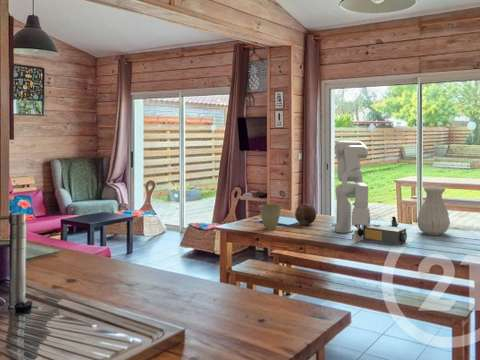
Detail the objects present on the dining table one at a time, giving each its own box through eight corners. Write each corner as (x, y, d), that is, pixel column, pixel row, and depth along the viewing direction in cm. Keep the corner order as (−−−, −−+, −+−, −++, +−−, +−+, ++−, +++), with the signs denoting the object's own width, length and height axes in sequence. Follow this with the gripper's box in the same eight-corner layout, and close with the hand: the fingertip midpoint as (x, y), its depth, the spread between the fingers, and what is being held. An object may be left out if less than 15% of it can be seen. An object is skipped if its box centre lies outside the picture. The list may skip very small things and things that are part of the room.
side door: (360, 238, 301) (360, 226, 300) (362, 238, 300) (363, 227, 299) (351, 243, 289) (352, 230, 288) (354, 243, 288) (355, 231, 287)
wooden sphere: (317, 223, 353) (317, 202, 352) (314, 227, 339) (314, 205, 337) (296, 222, 357) (296, 202, 356) (293, 226, 343) (293, 205, 341)
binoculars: (381, 217, 323) (397, 216, 321) (382, 232, 324) (398, 231, 322) (382, 219, 314) (398, 218, 312) (383, 235, 315) (400, 234, 313)
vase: (432, 238, 304) (433, 190, 301) (409, 231, 322) (411, 186, 319) (456, 235, 311) (458, 188, 308) (433, 229, 330) (435, 185, 327)
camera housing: (362, 239, 300) (363, 225, 299) (372, 236, 309) (372, 222, 308) (400, 245, 284) (400, 230, 283) (409, 242, 292) (409, 227, 291)
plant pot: (264, 226, 343) (264, 203, 342) (284, 228, 336) (284, 205, 335) (255, 230, 330) (255, 206, 329) (275, 232, 323) (275, 208, 322)
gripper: (347, 205, 288) (346, 235, 289) (372, 207, 280) (371, 238, 282) (350, 203, 294) (350, 233, 296) (375, 205, 287) (374, 236, 289)
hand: (360, 235), depth 289 cm, fingers closed
